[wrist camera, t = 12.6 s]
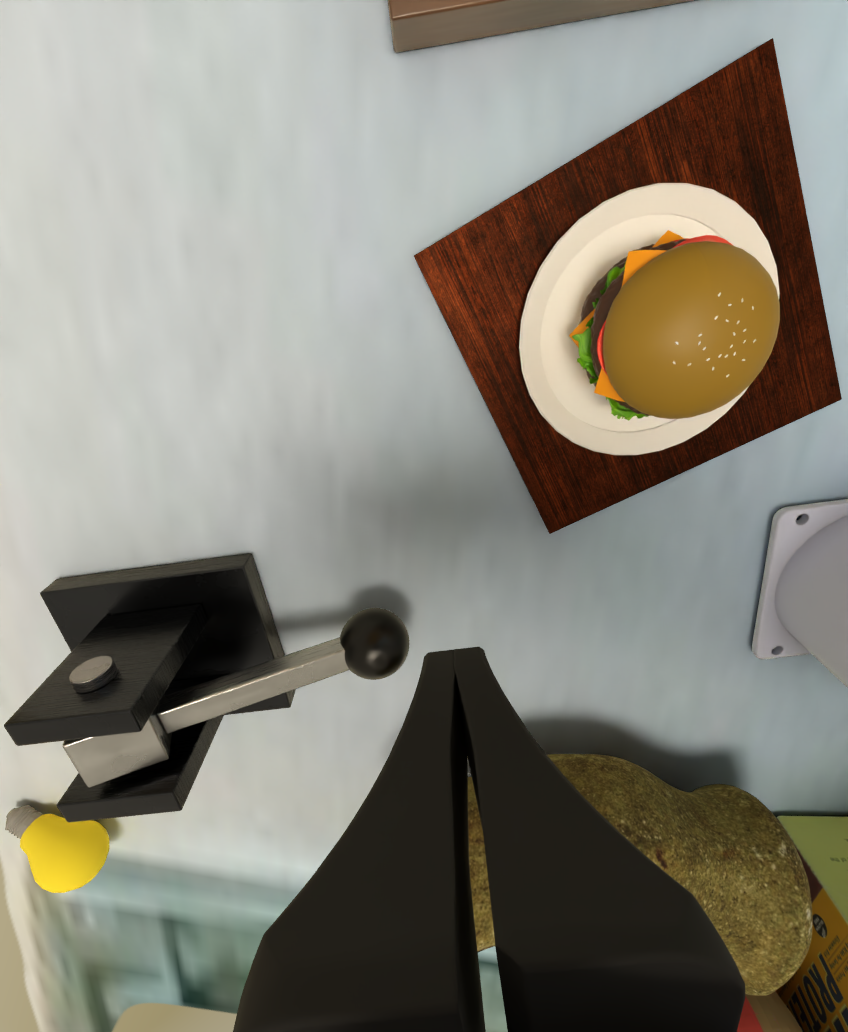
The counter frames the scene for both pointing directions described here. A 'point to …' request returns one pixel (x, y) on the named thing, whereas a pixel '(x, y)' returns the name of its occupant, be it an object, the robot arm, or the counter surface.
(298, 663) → the lever
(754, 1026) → the decorative object
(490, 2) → the button block
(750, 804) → the stone tool
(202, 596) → the bracket
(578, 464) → the hamburger
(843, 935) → the protein box
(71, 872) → the light bulb
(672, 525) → the counter surface
